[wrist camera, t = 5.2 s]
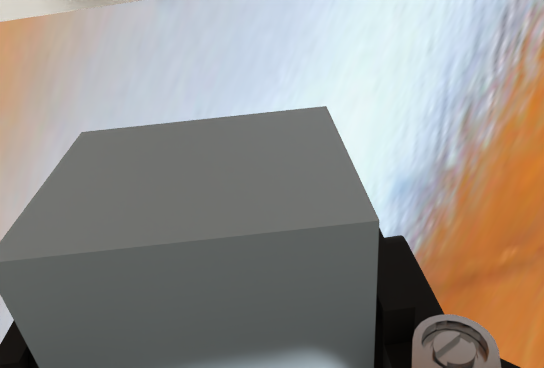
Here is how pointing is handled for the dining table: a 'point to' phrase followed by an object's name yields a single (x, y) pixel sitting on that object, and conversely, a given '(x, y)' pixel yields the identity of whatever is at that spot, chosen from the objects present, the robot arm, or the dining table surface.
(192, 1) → the dining table surface
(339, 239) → the brick
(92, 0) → the trivet
